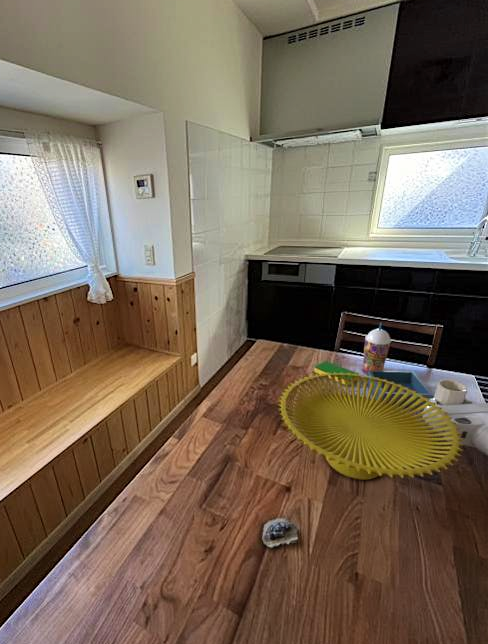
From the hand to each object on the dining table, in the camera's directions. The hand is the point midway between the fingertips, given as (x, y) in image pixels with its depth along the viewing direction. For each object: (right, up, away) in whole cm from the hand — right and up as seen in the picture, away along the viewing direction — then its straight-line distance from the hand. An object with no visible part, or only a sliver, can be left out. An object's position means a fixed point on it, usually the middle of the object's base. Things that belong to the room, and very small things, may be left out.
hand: (445, 399), depth 99 cm
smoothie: (-6, +5, +29) cm, 30 cm away
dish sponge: (-20, +4, +28) cm, 35 cm away
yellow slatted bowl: (-32, -14, -10) cm, 36 cm away
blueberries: (-57, -24, -28) cm, 67 cm away
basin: (-5, -1, +15) cm, 16 cm away
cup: (0, -6, +2) cm, 7 cm away
